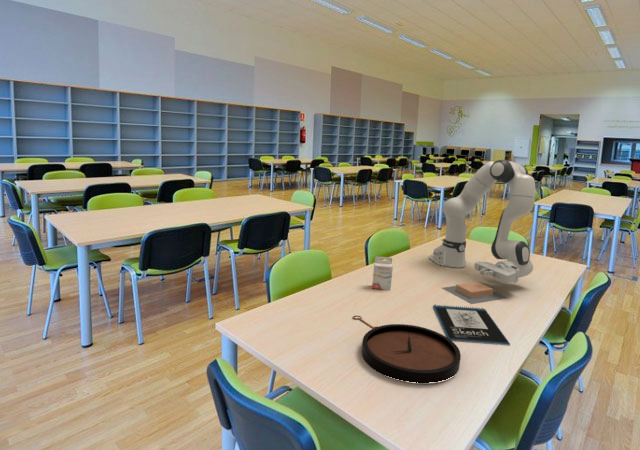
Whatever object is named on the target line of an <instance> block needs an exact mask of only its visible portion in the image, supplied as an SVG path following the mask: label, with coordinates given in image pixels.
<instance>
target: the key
mask: <svg viewBox="0 0 640 450" xmlns="http://www.w3.org/2000/svg"><path fill="white" fill-rule="evenodd" d="M352 319H353V320H355V321H360V322H361V323H363V324H365V325H366V326H367V327H369V328H371V329H374V328H376V327H378V326H379V325H377V326H372V325H371V324H370V323H368V322H366V321H365V320H363V317H362V316H361V315H354V316H352Z"/></svg>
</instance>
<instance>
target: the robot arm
mask: <svg viewBox="0 0 640 450" xmlns="http://www.w3.org/2000/svg"><path fill="white" fill-rule="evenodd" d="M497 182H500V183H503V184H505V185H506V184H507V185H509V187H510V193H509V198H508V203H507V205H506V207H505V208H504V209H503V210H502V212H501V215H500V218H499V222H498V226H497V229H496V232H495V237H494V240H493V242H492V244H491V246H490V250H491V253H492V256H493V257H494V258H495V259H496V260H500V261H497V262H496V263H495V264H494V263H491V262H488V261H475V263H474V270H476V271H478V272H479V274H480V275H482V276H486V277H487V276H488V277H493V278H495V279H497V280H499V281H502V282H504V283H507V284H508V283H518V282H519V278H524V277H526V276H529V275H530V274H531V273H532V272H533V271H534V264H533V262H532V261H531V259H530V258H531V257H530V256H531V250H530V247H529V245H528V244H527V243H526V242H525V241H522V240H521V241H520V240H511V239H509V240H508V238H509V236H510V235H509V234H510V231H511V228H512V224H513V223H514V221H516V220H519V218H522V217H524V216H527V215H528V214H529V213H531V212H532V211H533V209H534V207H535V200H536V182H535V178H534V177H533V176H532V175H529V171H528V169H527V168H526V167H525V166H524V165H522V164H521V163H520V164H519V163H518V162H515V161H511V160H507V159H498V160H495V161H488V162H486V163H485V164H483V165H482V166H481V167H480V168H479V169H478V170H477V171H476V172H475V173H474V174H473V175H472V177H471V178H470V179H469V180H468V181H467V182H466V183H465V185H464V187H463V189H462V190H461V192H460V194H459V195H457V196H456V197H451V198H448V199H447V200H446V201H445V202H444V203H443V204H442V211H443V213H444V215H445V223H446V224H445V225H446V226H445V227H446V228H445V238H442V239H441V241H442V242H441V243H442V244H441V245H438V246H437V247H435V248H434V249H433V251H432V255H429V256H428V257H427V258H428V259H429V260H430V259H431V261H432V262H433V261H434V263H435V264H437V265H438V266H440V265H441V267H449V268H464V267H466V266H467V264H466V263H467V261H466V248H467V247H466V246H467V240H466V239H467V231H468V226H467V224H466V216H467V215H469V214H470V213H472V212H473V211H474V210H475V208H476V206H477V205H478V204H479V202H480V201H481V199H482V198H483V197H484V196H485V195H486V194H487V193H488V191H489V190H490V189H492V187H494V185H495V184H496V183H497Z"/></svg>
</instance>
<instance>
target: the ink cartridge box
mask: <svg viewBox="0 0 640 450" xmlns="http://www.w3.org/2000/svg"><path fill="white" fill-rule="evenodd" d="M393 269H394V268H393V257H390V256H389V257H388V256H377V255H376V256H375V257H374V262H373V273H372V275H373V276H372V285H371V286H372V289H373V288H374V289H373V290H382V289H384V290H383V291H391V288H392V281H393V280H392V279H393Z"/></svg>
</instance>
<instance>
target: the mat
mask: <svg viewBox="0 0 640 450" xmlns="http://www.w3.org/2000/svg"><path fill="white" fill-rule="evenodd" d="M441 290H444V291H446V293H450V294H452V296H454V297H455V296H456V297H458V298H459V299H460V300H462V301H465V302H467V303H469V304H470V305H475V304H480V303H487V302H493V301H494V302H495V301H498V300H499V301H500V300H505V299H509V297H507V296H505V295H503V294H501V293H499V292H497V291H495V290H493V295H490V296H484V297H478V298H469V297H467V296H465V295H463V294H461V293H459V292H457V291H456V285H451V286H445V287H441Z"/></svg>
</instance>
